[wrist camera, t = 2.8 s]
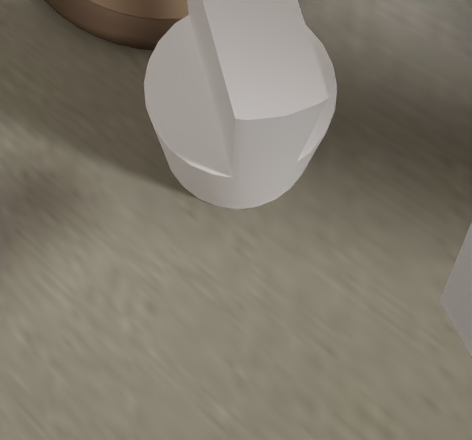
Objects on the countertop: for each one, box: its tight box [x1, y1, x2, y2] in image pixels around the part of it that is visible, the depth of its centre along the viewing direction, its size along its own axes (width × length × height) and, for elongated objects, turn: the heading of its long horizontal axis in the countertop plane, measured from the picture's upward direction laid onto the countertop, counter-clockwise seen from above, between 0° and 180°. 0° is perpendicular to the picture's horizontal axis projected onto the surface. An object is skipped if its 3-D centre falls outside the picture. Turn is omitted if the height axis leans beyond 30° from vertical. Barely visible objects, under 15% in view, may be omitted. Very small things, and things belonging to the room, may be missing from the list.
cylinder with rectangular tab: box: [144, 0, 337, 209], centre depth 20 cm, size 9×9×12 cm
